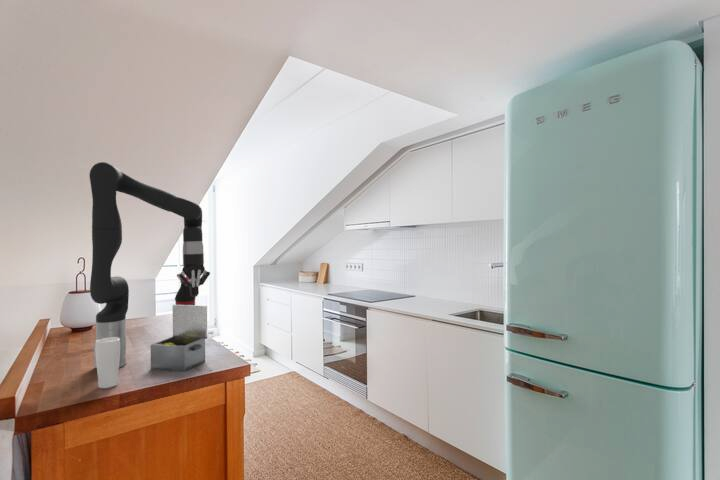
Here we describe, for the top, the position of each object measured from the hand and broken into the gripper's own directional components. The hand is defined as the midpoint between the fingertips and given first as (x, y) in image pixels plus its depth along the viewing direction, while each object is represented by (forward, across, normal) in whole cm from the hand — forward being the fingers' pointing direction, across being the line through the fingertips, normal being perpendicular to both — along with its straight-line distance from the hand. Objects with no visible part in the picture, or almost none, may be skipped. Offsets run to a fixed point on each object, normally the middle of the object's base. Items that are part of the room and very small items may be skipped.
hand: (194, 296), depth 149 cm
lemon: (+23, -8, -3) cm, 25 cm away
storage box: (+24, -8, -3) cm, 26 cm away
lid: (+10, -3, -1) cm, 10 cm away
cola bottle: (+24, +8, +26) cm, 37 cm away
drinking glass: (+24, -32, -6) cm, 41 cm away
